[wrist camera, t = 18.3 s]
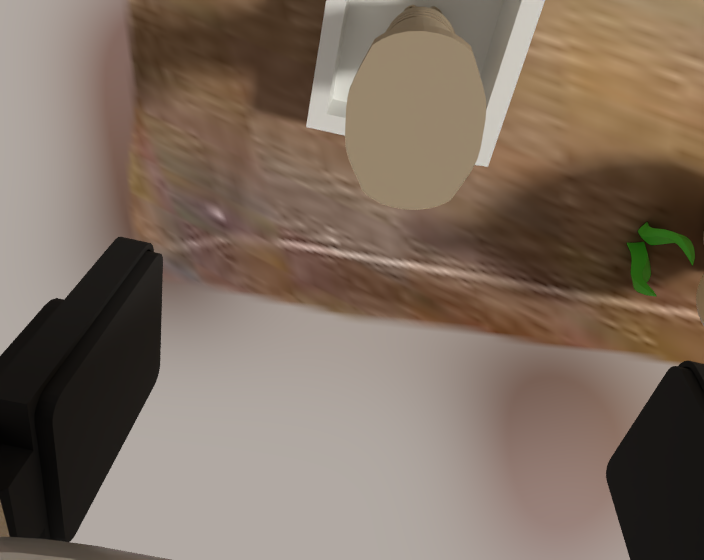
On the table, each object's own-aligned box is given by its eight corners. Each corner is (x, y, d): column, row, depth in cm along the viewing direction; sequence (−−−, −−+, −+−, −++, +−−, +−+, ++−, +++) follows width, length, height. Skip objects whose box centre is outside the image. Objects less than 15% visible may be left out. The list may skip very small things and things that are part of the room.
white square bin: (349, -100, 32) (335, -95, 27) (538, -56, 32) (559, -43, 27) (315, 107, 38) (298, 143, 33) (474, 143, 38) (481, 184, 33)
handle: (372, 88, 36) (342, 203, 24) (380, -34, 33) (349, 25, 20) (456, 95, 36) (469, 215, 23) (473, -28, 32) (499, 36, 20)
